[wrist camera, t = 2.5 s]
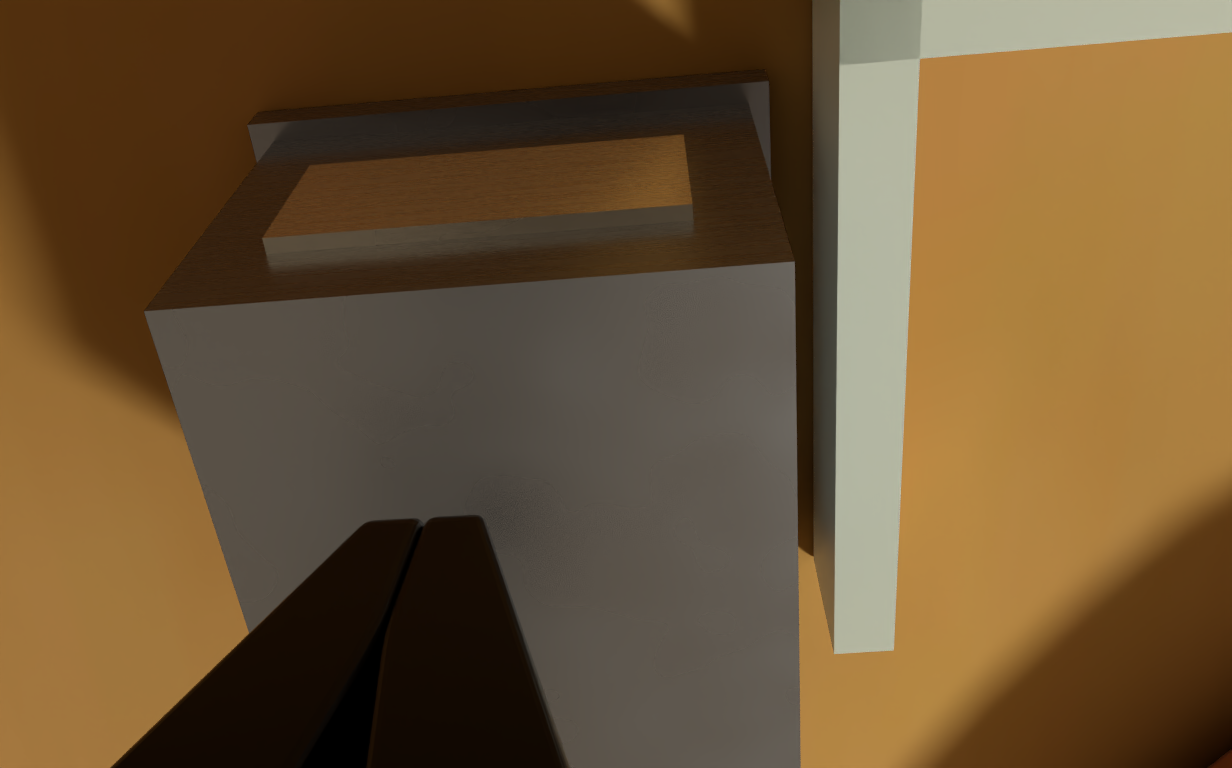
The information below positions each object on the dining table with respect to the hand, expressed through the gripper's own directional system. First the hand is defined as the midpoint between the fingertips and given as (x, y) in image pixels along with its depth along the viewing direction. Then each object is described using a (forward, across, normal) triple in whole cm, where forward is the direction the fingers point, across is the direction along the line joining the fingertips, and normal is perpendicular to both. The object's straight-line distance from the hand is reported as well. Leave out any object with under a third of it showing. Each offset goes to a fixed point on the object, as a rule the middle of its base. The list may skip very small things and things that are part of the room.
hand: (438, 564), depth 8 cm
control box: (+11, 0, +4) cm, 11 cm away
